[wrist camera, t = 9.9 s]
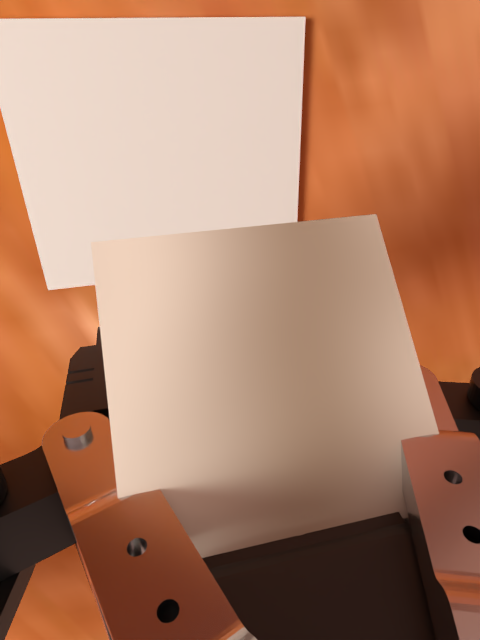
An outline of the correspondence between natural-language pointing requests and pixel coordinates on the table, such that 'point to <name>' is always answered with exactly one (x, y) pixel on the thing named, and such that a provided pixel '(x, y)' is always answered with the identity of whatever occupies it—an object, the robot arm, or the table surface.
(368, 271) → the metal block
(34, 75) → the white mat
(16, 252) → the table surface
